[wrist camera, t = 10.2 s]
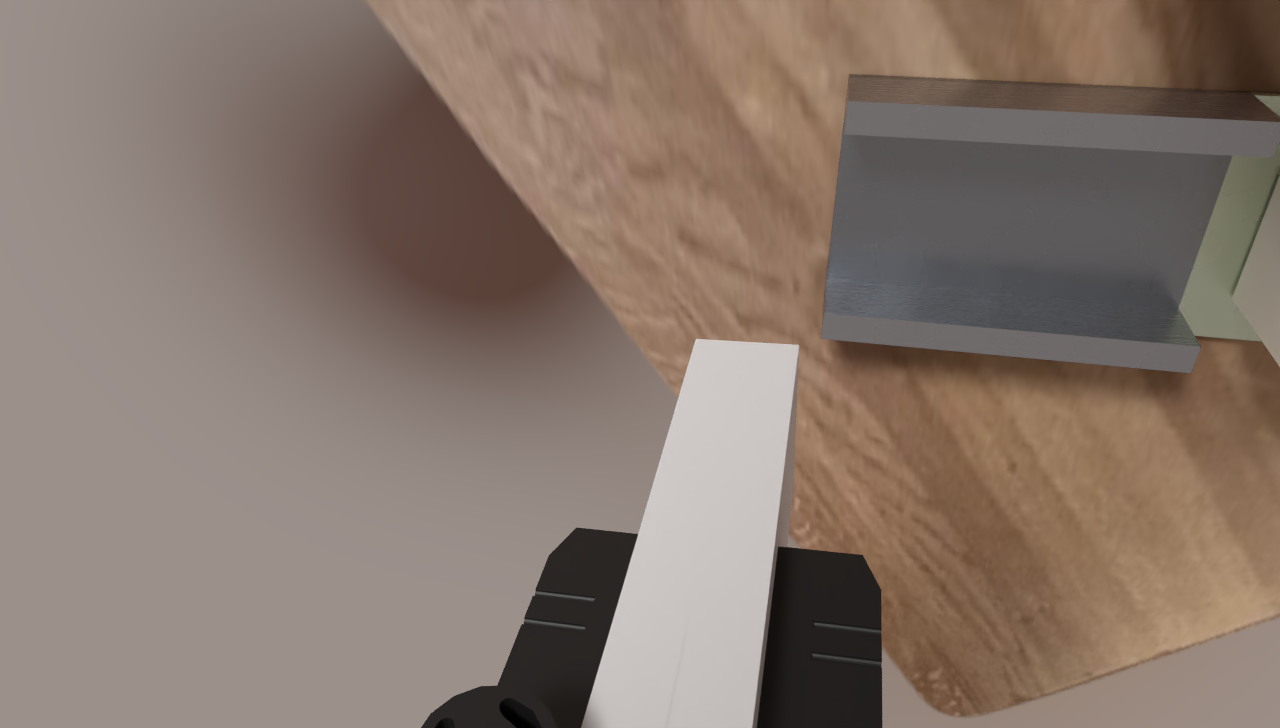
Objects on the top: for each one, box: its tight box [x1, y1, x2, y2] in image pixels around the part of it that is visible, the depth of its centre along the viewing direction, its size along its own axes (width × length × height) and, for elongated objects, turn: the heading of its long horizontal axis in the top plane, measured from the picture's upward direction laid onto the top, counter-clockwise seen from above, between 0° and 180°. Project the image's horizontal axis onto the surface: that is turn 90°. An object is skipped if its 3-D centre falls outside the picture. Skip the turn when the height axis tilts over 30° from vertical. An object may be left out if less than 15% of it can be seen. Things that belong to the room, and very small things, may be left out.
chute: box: [821, 74, 1280, 373], centre depth 34 cm, size 10×24×3 cm, turn 91°
